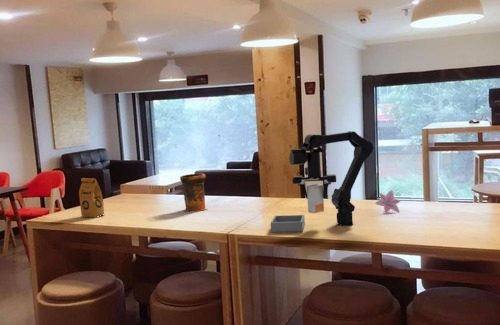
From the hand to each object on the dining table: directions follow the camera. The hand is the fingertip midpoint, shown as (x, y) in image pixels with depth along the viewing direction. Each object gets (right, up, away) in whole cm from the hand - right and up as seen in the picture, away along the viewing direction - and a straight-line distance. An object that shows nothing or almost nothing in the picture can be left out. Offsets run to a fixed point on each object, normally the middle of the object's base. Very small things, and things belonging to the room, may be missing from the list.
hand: (315, 198), depth 208 cm
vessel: (-60, -11, +61) cm, 86 cm away
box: (-12, -14, +3) cm, 18 cm away
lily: (+39, -9, +24) cm, 46 cm away
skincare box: (0, -6, +1) cm, 6 cm away
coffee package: (-118, -15, +61) cm, 133 cm away
